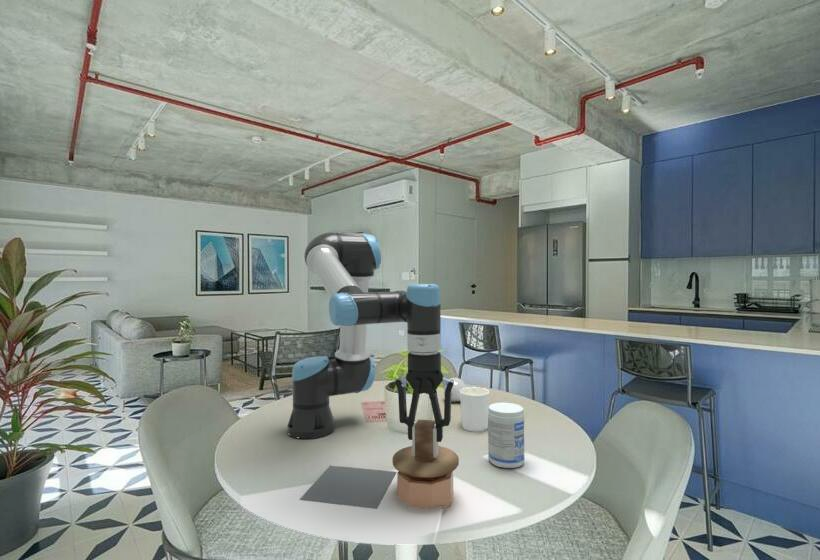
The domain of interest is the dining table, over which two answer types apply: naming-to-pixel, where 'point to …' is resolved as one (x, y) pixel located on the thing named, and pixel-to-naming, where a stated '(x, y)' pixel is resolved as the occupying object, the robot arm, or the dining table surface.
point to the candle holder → (474, 408)
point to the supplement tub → (506, 435)
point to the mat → (350, 487)
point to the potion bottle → (457, 389)
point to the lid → (425, 455)
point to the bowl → (425, 490)
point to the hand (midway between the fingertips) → (425, 454)
